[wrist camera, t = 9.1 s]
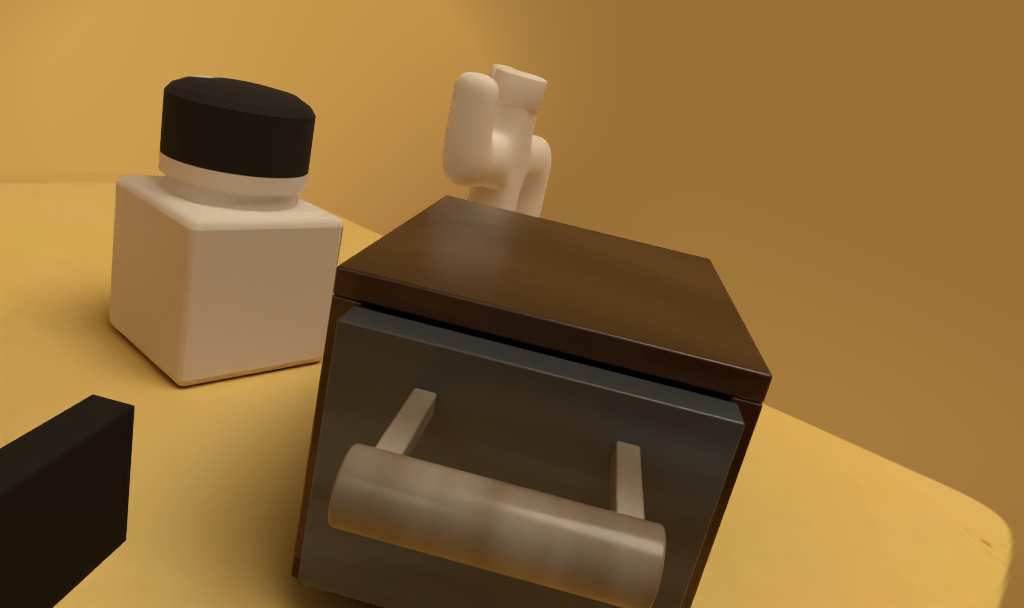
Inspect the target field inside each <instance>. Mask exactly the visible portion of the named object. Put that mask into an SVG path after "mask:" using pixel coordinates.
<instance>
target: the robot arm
mask: <svg viewBox="0 0 1024 608" xmlns="http://www.w3.org/2000/svg"><path fill="white" fill-rule="evenodd" d="M133 422H134V406H133V405H129V404H126V403H122V402H118V401H115V400H111V399H107V398H104V397H100V396H97V395H91V396H89V397H88V398H86V399H84V400H83V401H81V402H79V403H77V404H76V405H74V406H72V407H71V408H69V409H67V410H65V411H64V412H62V413H60V414H59V415H57V416H55V417H54V418H52V419H50V420H48V421H47V422H45V423H43V424H42V425H40V426H38V427H36V428H35V429H33V430H31V431H30V432H28V433H26V434H24V435H23V436H21V437H19V438H18V439H16V440H14V441H13V442H11V443H9V444H7V445H6V446H4V447H2V448H1V449H0V608H53V607H54V606H55V605H56V604H57V603H58V602H59V601H60V600H61V599H63V598H64V597H65V596H66V595H67V594H68V593H69V592H70V591H71V590H72V589H73V588H75V587H76V586H77V585H78V584H79V583H80V582H81V581H82V580H83V579H84V578H85V577H86V576H88V575H89V574H90V573H91V572H92V571H93V570H94V569H95V568H96V567H97V566H98V565H100V564H101V563H102V562H103V561H104V560H105V559H106V558H107V557H108V556H109V555H110V554H112V553H113V552H114V551H115V550H116V549H117V548H118V547H119V546H120V545H121V544H122V543H123V542H125V541H126V532H127V516H128V500H129V485H130V469H131V453H132V438H133Z"/></svg>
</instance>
